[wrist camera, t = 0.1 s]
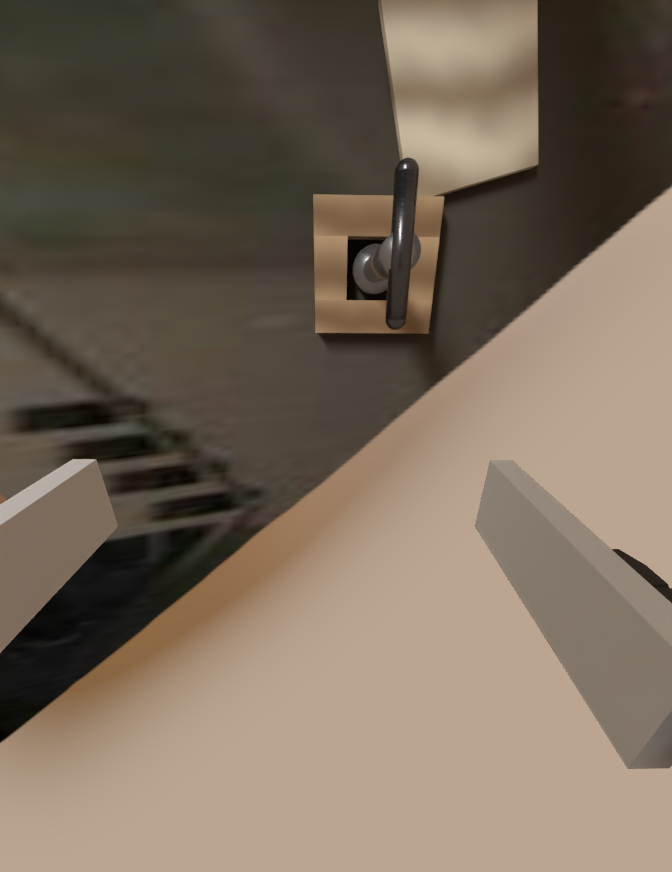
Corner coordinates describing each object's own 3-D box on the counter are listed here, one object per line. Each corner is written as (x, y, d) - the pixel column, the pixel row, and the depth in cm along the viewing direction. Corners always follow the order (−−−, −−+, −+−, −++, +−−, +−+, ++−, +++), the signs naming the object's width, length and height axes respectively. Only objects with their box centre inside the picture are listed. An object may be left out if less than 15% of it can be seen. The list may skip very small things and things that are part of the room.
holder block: (314, 200, 31) (313, 194, 29) (437, 202, 31) (444, 196, 29) (316, 331, 35) (315, 332, 34) (423, 331, 36) (428, 333, 34)
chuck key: (353, 217, 31) (371, 152, 18) (397, 218, 31) (450, 153, 18) (350, 318, 35) (364, 330, 21) (390, 319, 35) (429, 331, 21)
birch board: (378, 3, 26) (379, -8, 25) (529, -51, 25) (537, -64, 24) (406, 206, 31) (409, 203, 30) (532, 168, 30) (538, 164, 29)
